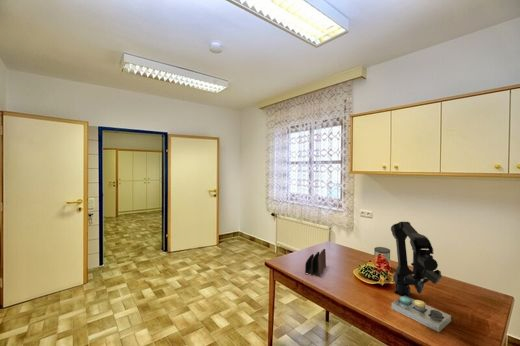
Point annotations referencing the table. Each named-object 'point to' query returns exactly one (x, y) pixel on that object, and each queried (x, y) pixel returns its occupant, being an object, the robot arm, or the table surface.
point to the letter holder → (316, 263)
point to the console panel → (422, 315)
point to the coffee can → (382, 252)
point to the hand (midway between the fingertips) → (419, 293)
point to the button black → (436, 315)
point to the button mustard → (420, 306)
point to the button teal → (405, 301)
